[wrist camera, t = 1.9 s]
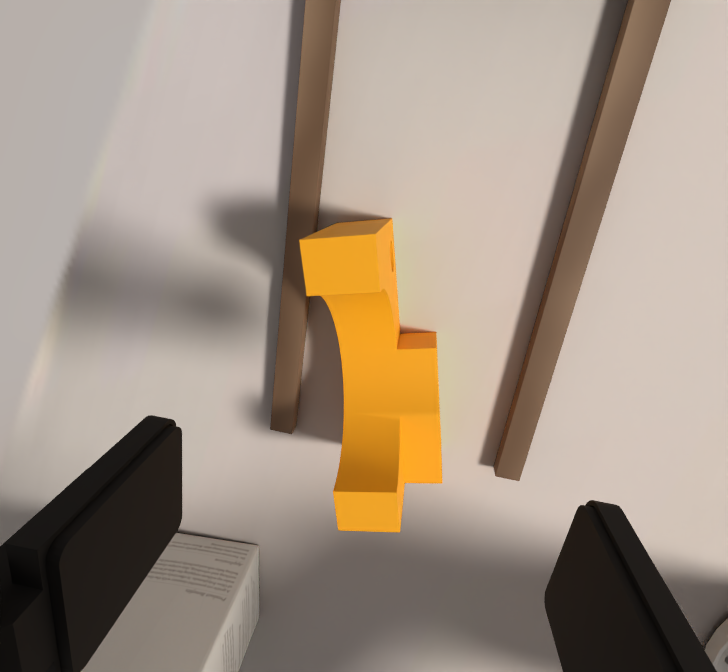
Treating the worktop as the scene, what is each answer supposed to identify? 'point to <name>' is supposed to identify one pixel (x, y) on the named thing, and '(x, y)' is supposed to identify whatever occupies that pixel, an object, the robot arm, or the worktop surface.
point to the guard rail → (574, 242)
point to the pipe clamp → (375, 375)
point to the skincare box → (187, 611)
